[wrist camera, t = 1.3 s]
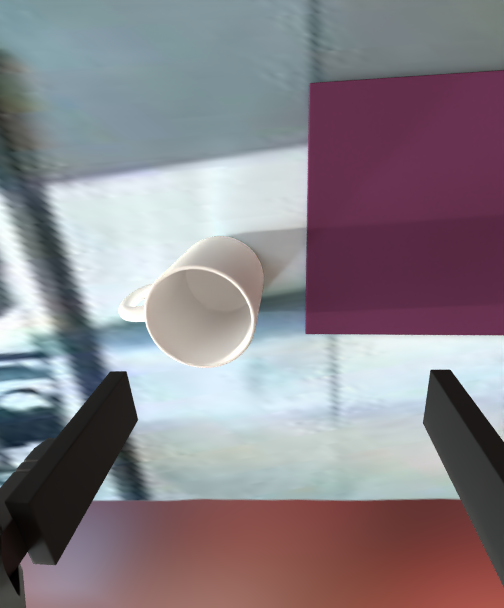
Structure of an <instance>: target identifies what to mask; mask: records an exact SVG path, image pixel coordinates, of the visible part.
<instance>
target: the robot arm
mask: <svg viewBox="0 0 504 608" xmlns="http://www.w3.org/2000/svg"><path fill="white" fill-rule="evenodd" d="M137 421H138V418H137V414H136V409H135V405H134V401H133V397H132V393H131V388H130V384H129V380H128V376H127V372H126V371H116V372H110V373H109V374H108V375H107V376H106V378H105V379H104V380H103V381H102V382H101V384H100V385H99V386H98V387H97V389H96V390H95V391H94V392H93V393H92V395H91V396H90V397H89V398H88V400H87V401H86V402H85V403H84V405H83V406H82V407H81V408H80V409H79V411H78V412H77V413H76V414H75V416H74V417H73V418H72V419H71V420H70V422H69V423H68V424H67V425H66V427H65V428H64V429H63V430H62V431H61V433H60V434H59V435H58V436H57V438H48V439H46V440H45V441H44V442H42V443H41V444H40V445H38V446H37V447H35V448H34V449H33V450H32V452H31V453H30V454H29V455H28V456H27V457H26V459H25V460H24V462H22V463H21V464H20V466H19V467H18V468H17V469H16V472H14V473H13V474H12V475H11V476H10V477H9V478H8V480H7V481H6V482H5V483H4V484H3V485H2V487H1V488H0V608H26V604H25V593H24V581H23V570H22V568H21V566H20V562H21V561H22V559H23V558H24V556H25V555H26V553H27V552H28V553H29V556H30V558H31V560H32V562H33V564H46V565H56V564H57V562H58V561H59V559H60V557H61V555H62V554H63V552H64V550H65V548H66V546H67V545H68V543H69V541H70V539H71V537H72V536H73V534H74V532H75V531H76V528H77V527H78V525H79V523H80V522H81V520H82V518H83V516H84V515H85V513H86V511H87V509H88V507H89V506H90V504H91V502H92V501H93V499H94V497H95V495H96V493H97V492H98V490H99V488H100V486H101V485H102V483H103V481H104V479H105V478H106V476H107V474H108V472H109V470H110V469H111V467H112V465H113V463H114V462H115V460H116V458H117V456H118V455H119V453H120V451H121V449H122V447H123V446H124V444H125V442H126V440H127V439H128V437H129V435H130V433H131V432H132V430H133V428H134V426H135V424H136V423H137ZM423 424H424V426H425V428H426V430H427V432H428V434H429V436H430V438H431V440H432V442H433V444H434V446H435V448H436V450H437V453H438V455H439V457H440V459H441V461H442V463H443V465H444V467H445V469H446V471H447V473H448V475H449V477H450V479H451V481H452V483H453V485H454V487H455V489H456V491H457V493H458V495H459V497H460V499H461V501H462V503H463V505H464V507H465V509H466V511H467V513H468V515H469V517H470V520H471V522H472V523H473V526H474V528H475V530H476V532H477V533H478V536H479V538H480V540H481V542H482V544H483V546H484V548H485V550H486V552H487V554H488V556H489V558H490V560H491V562H492V564H493V566H494V568H495V570H496V572H497V574H498V576H499V578H500V580H501V582H502V584H503V586H504V442H503V440H502V439H501V438H500V436H499V435H498V434H497V432H496V431H495V430H494V428H493V427H492V425H491V424H490V423H489V421H488V420H487V419H486V417H485V416H484V415H483V413H482V412H481V411H480V409H479V408H478V407H477V405H476V404H475V402H474V401H473V400H472V398H471V397H470V396H469V394H468V393H467V392H466V390H465V389H464V388H463V386H462V385H461V384H460V382H459V381H458V379H457V378H456V377H455V375H454V374H453V373H452V371H451V370H431V371H430V378H429V385H428V392H427V399H426V406H425V413H424V420H423Z"/></svg>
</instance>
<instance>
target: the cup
mask: <svg viewBox="0 0 504 608" xmlns="http://www.w3.org/2000/svg"><path fill="white" fill-rule="evenodd" d="M263 286H264V274H263V269H262V266H261V263H260V261H259V259H258V257H257V256H256V254H255V253H254V252H253V251H252V250H251V249H250V248H249V247H248V246H247V245H246V244H244V243H242V242H241V241H239V240H237V239H234V238H231V237H226V236H214V237H209V238H206V239H203V240H201V241H199V242H197V243H196V244H194V245H193V246H192V247H190V248H189V249H188V250H187V251H186V252H185V253H184V254H183V255H182V256H181V257H180V258H179V259H178V260H177V261H176V262H175V263H174V264H173V265H172V266H170V267H169V268H168V269H167V270H166V271H165V272H164V273H163V274H162V275H161V276H160V277H159V278H158V279H157V280H156V281H155V282H154V283H153V284H149V285H146V286H143V287H141V288H139V289H137V290H135V291H134V292H132V293H131V294H129V295H128V296H127V297H126V298H125V299H124V300H123V301H122V303H121V304H120V307H119V314H120V316H121V317H122V318H123V319H124V320H127V321H132V322H144V321H145V323H146V326H147V329H148V331H149V334H150V336H151V337H152V339H153V340H154V342H155V343H156V344H157V346H158V347H159V348H160V349H161V350H162V351H163V352H164V353H166V354H167V355H168V356H170V357H171V358H173V359H174V360H176V361H178V362H180V363H183V364H186V365H189V366H193V367H200V368H211V367H218V366H221V365H224V364H227V363H229V362H231V361H233V360H235V359H236V358H238V357H239V356H240V355H241V354H242V353H243V352H244V351H245V350H246V349H247V347H248V346H249V344H250V343H251V341H252V338H253V336H254V332H255V327H256V322H257V317H258V312H259V307H260V302H261V297H262V292H263ZM143 299H146V300H145V305H144V306H135V305H136V304H137V303H139V302H140V301H142V300H143Z"/></svg>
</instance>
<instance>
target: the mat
mask: <svg viewBox="0 0 504 608" xmlns="http://www.w3.org/2000/svg"><path fill="white" fill-rule="evenodd" d="M305 333H306V334H387V335H504V70H501V71H485V72H470V73H455V74H440V75H425V76H410V77H395V78H380V79H365V80H350V81H335V82H320V83H310V85H309V134H308V196H307V258H306V320H305Z"/></svg>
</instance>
